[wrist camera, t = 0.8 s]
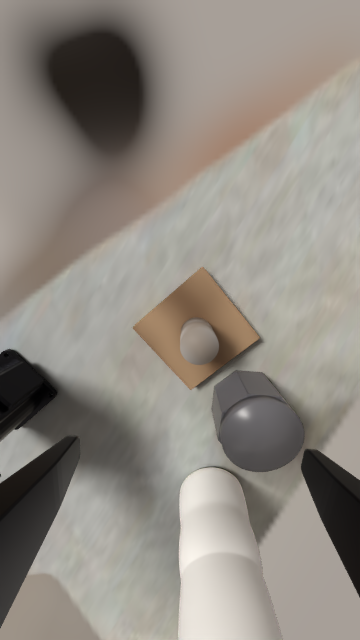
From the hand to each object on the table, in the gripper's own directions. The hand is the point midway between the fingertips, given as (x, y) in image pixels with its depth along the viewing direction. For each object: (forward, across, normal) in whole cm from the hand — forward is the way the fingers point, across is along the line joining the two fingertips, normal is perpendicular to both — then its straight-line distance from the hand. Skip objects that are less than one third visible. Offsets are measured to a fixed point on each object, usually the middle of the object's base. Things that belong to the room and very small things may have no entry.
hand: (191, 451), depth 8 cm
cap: (+12, -6, +5) cm, 14 cm away
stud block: (+12, -1, -2) cm, 12 cm away
